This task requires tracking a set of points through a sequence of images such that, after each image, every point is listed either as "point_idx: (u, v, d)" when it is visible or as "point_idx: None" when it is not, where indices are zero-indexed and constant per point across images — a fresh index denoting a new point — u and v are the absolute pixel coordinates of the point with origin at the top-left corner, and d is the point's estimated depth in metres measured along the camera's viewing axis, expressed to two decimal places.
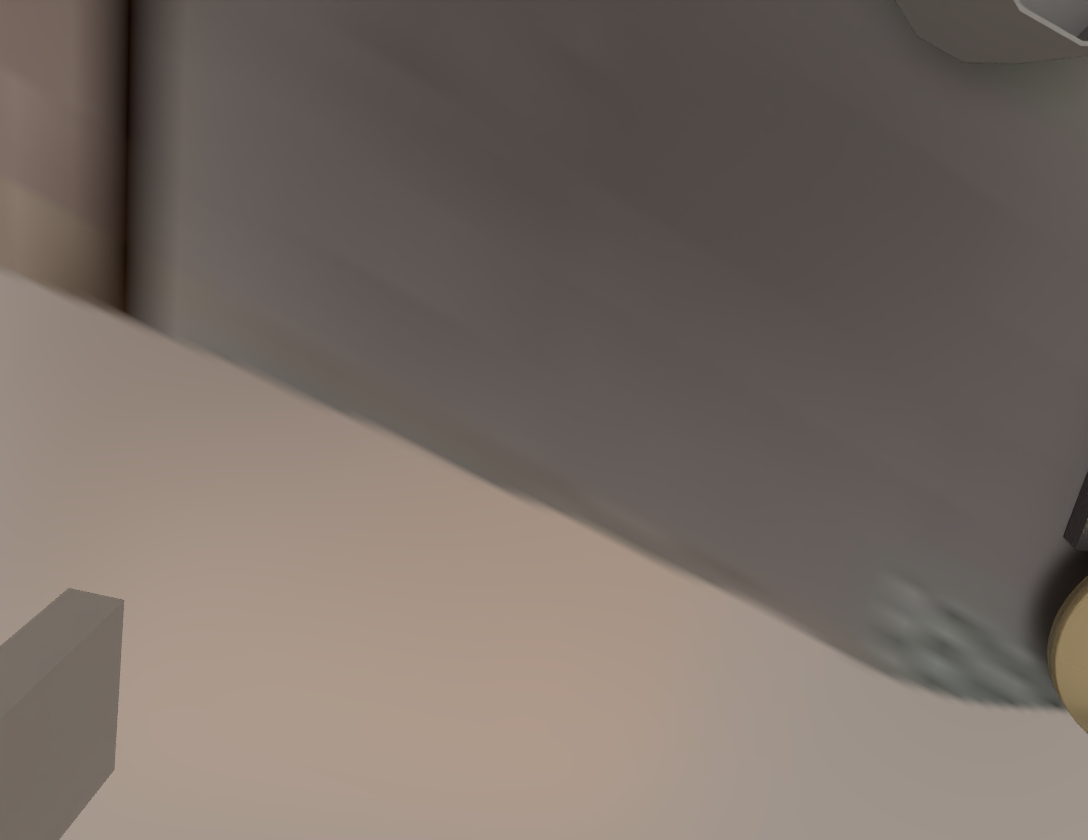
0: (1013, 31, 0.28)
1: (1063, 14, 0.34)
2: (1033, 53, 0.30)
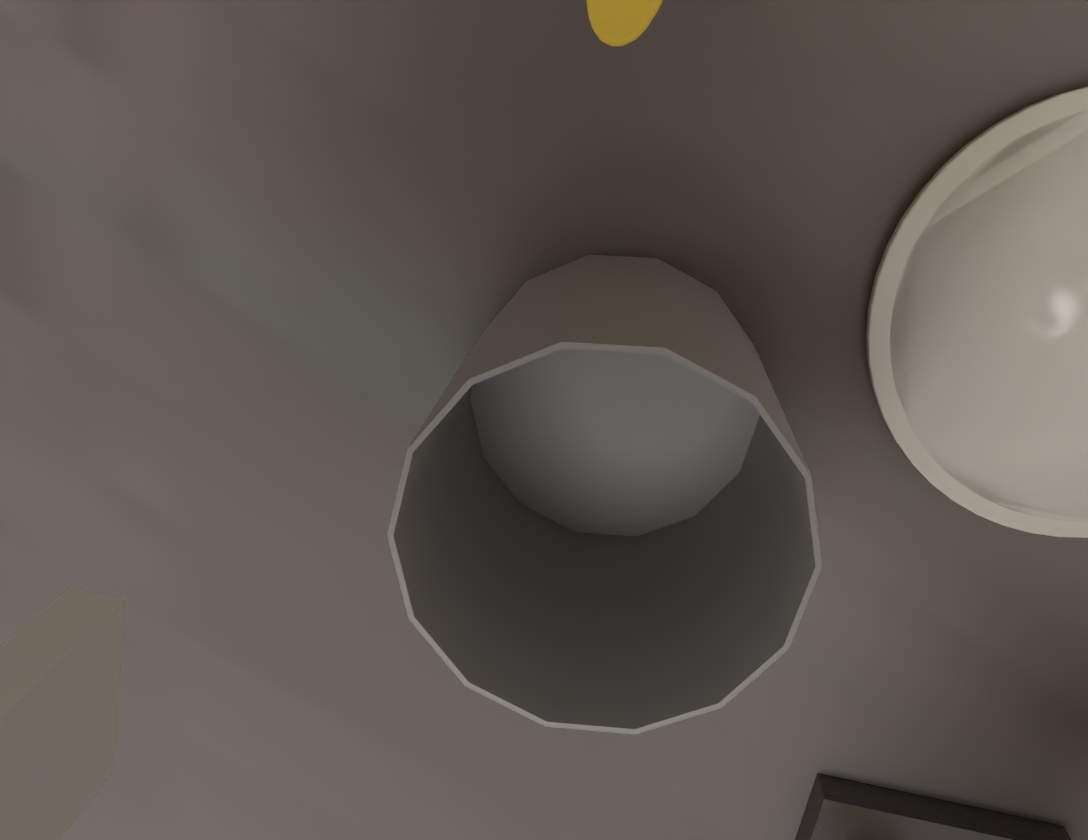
0: None
1: (676, 492, 0.29)
2: None
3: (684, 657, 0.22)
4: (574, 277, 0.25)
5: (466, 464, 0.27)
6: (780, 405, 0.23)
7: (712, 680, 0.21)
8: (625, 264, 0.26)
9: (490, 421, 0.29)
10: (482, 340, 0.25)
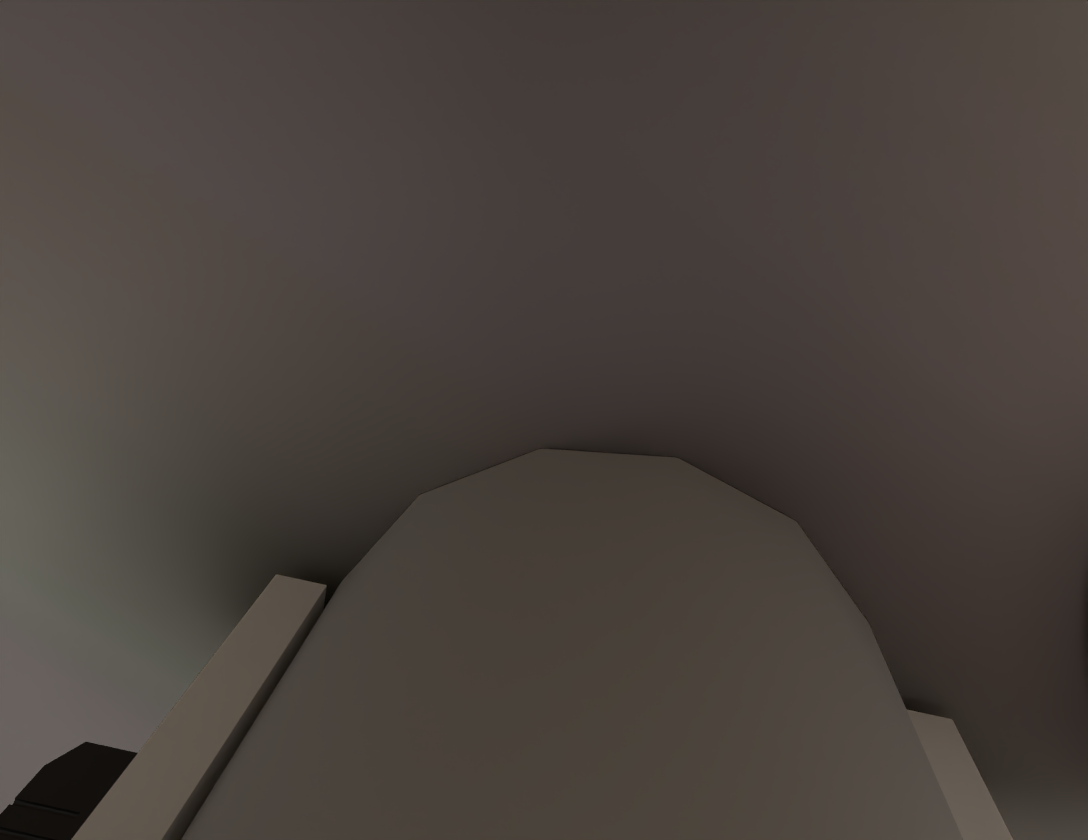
0: None
1: None
2: None
3: None
4: (494, 549, 0.11)
5: None
6: None
7: None
8: (612, 488, 0.12)
9: None
10: (286, 689, 0.11)
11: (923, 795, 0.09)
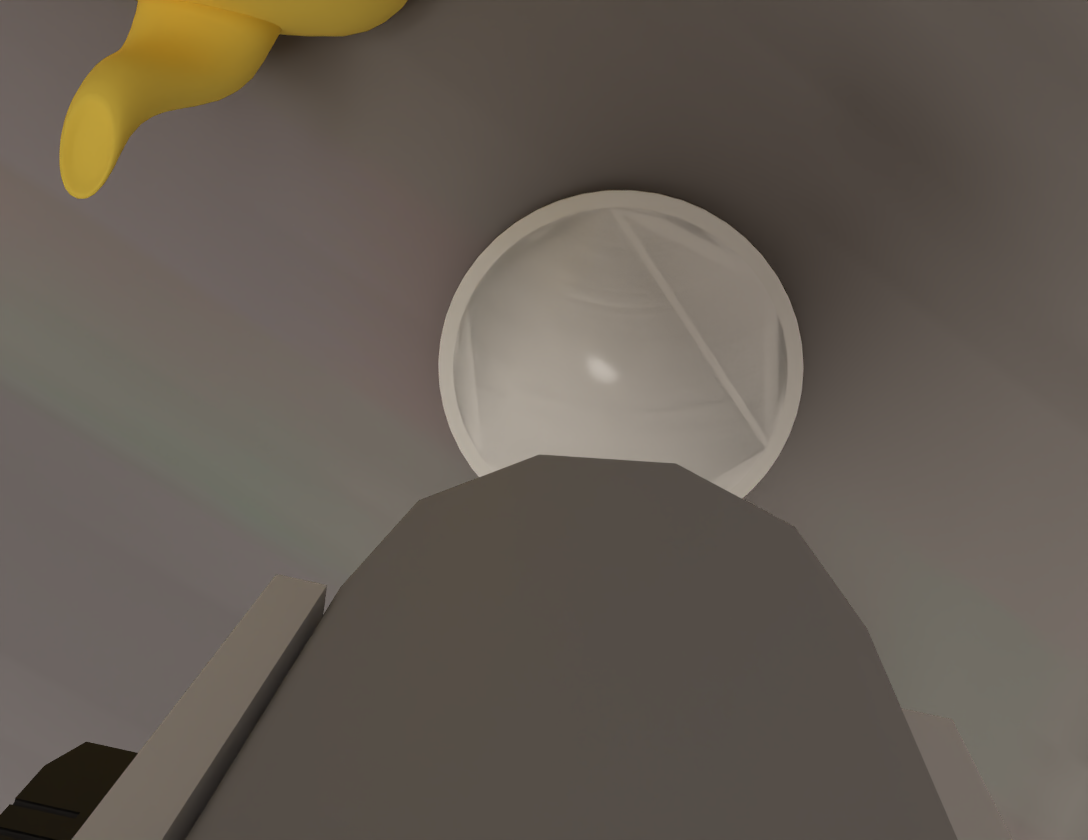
0: None
1: None
2: None
3: None
4: (493, 556, 0.11)
5: None
6: None
7: None
8: (611, 494, 0.12)
9: None
10: (286, 696, 0.11)
11: (920, 803, 0.09)
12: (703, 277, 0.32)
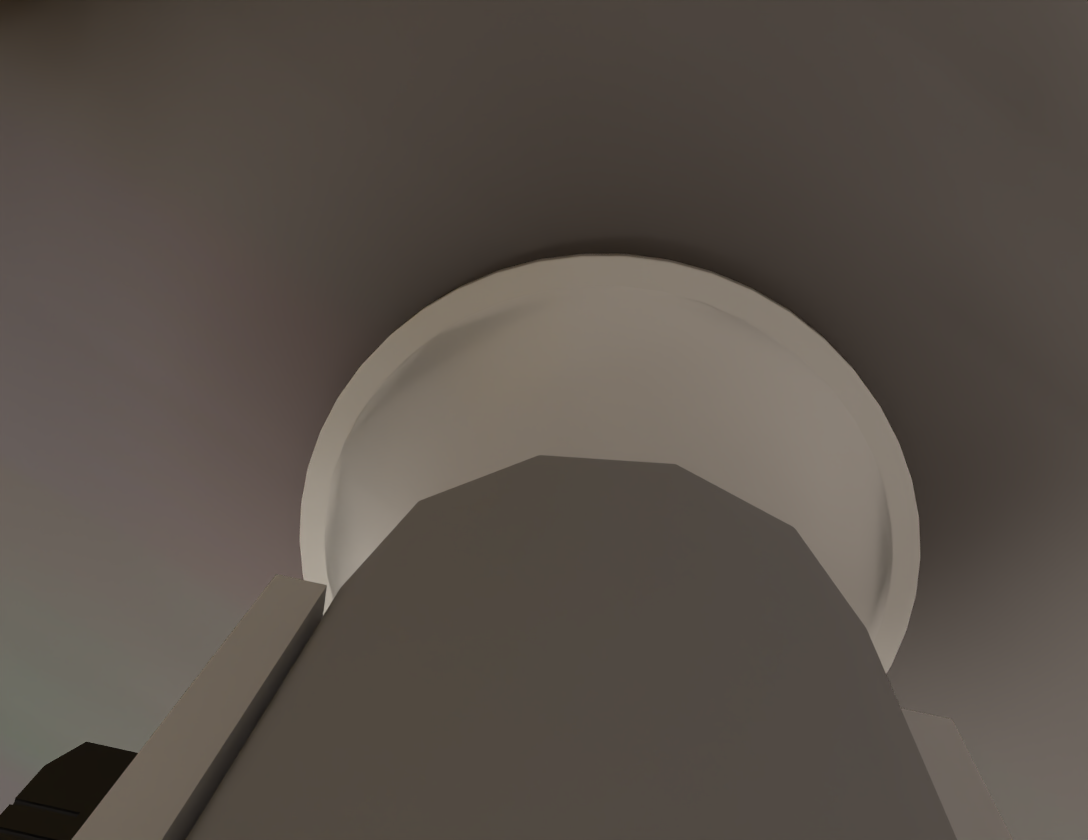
0: None
1: None
2: None
3: None
4: (493, 557, 0.11)
5: None
6: None
7: None
8: (611, 495, 0.12)
9: None
10: (285, 697, 0.11)
11: (920, 803, 0.09)
12: (749, 407, 0.18)
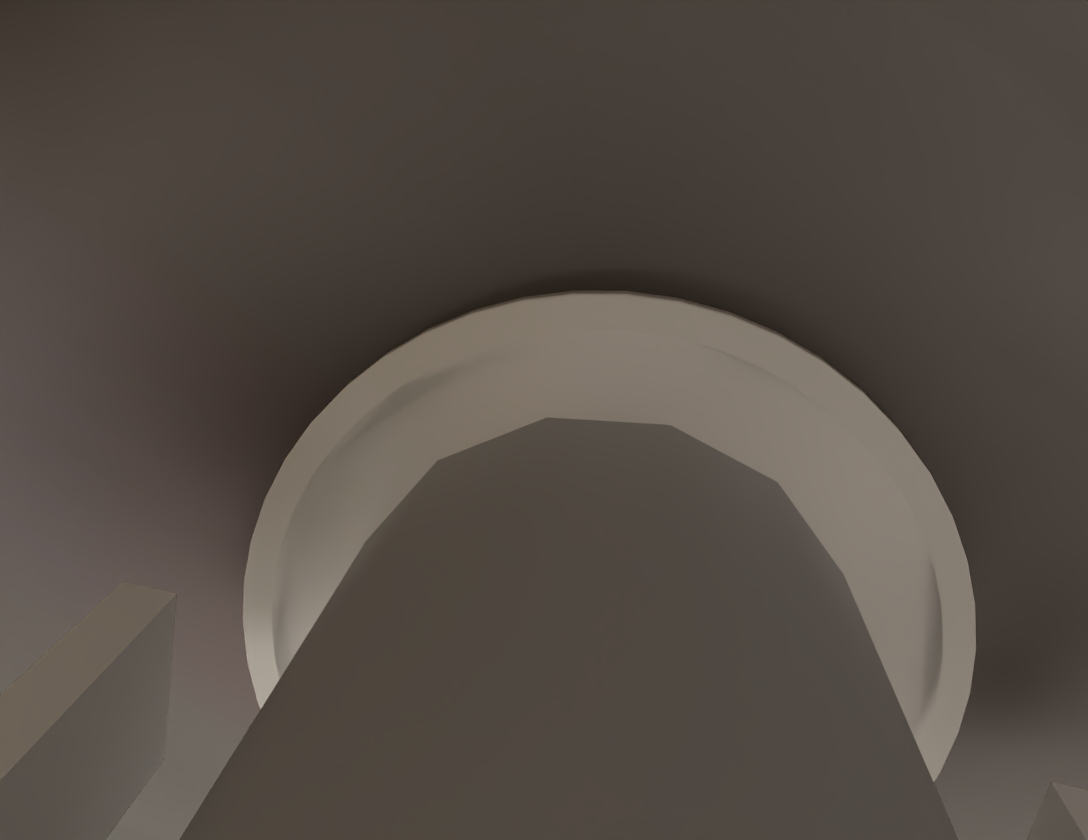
0: None
1: None
2: None
3: None
4: (508, 498, 0.12)
5: None
6: (951, 824, 0.10)
7: None
8: (612, 449, 0.14)
9: None
10: (325, 622, 0.12)
11: (881, 703, 0.11)
12: (773, 473, 0.15)
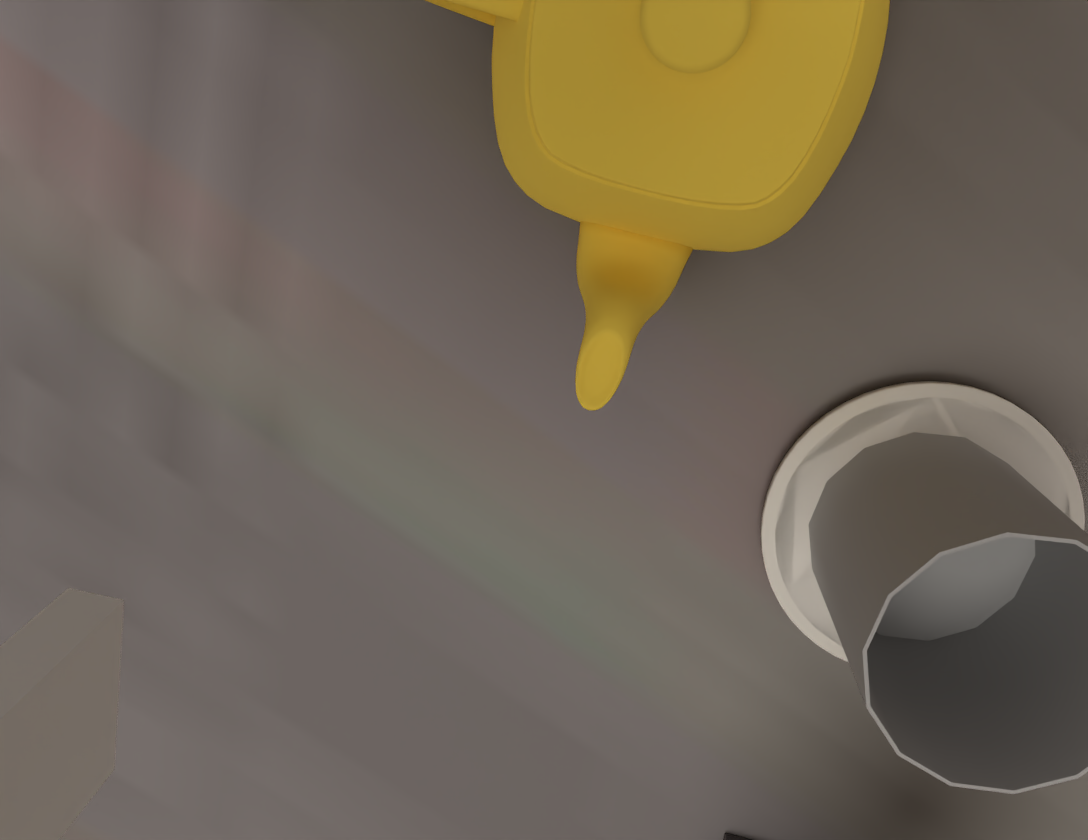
0: None
1: (964, 609, 0.38)
2: None
3: (1028, 740, 0.32)
4: (931, 458, 0.34)
5: None
6: None
7: (1063, 759, 0.30)
8: (952, 445, 0.36)
9: None
10: (862, 500, 0.34)
11: None
12: (1005, 459, 0.37)
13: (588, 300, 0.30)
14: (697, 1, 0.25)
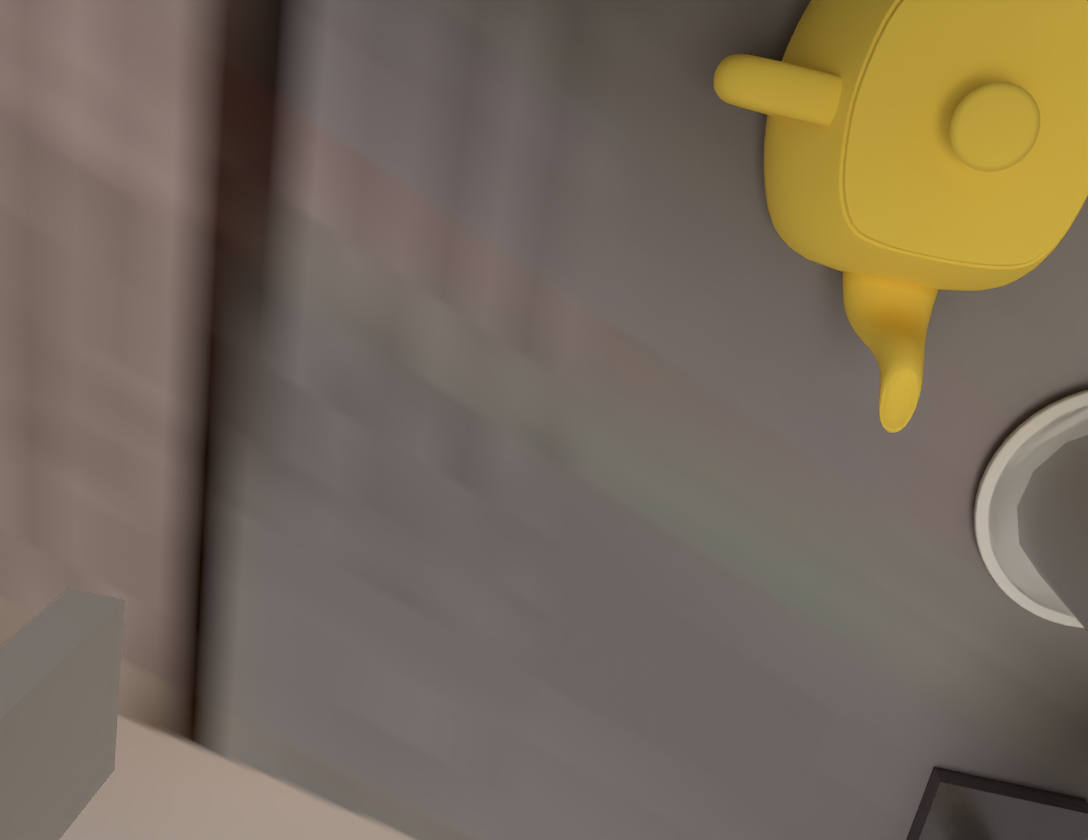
0: None
1: None
2: None
3: None
4: None
5: None
6: None
7: None
8: None
9: None
10: (1081, 489, 0.42)
11: None
12: None
13: (877, 342, 0.38)
14: (999, 118, 0.32)
